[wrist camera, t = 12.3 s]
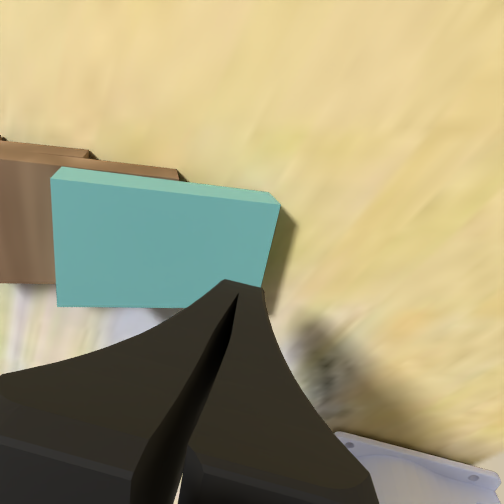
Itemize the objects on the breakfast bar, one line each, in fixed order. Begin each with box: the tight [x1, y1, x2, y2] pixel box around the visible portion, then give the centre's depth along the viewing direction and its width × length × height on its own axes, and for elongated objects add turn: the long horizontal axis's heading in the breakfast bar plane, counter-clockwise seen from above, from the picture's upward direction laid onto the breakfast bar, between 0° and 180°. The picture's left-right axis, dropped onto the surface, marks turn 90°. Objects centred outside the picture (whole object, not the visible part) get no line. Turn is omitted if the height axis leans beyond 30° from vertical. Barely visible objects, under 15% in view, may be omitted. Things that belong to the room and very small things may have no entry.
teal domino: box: [50, 167, 281, 308], centre depth 14 cm, size 2×5×8 cm
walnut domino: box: [0, 148, 179, 284], centre depth 14 cm, size 2×5×8 cm
